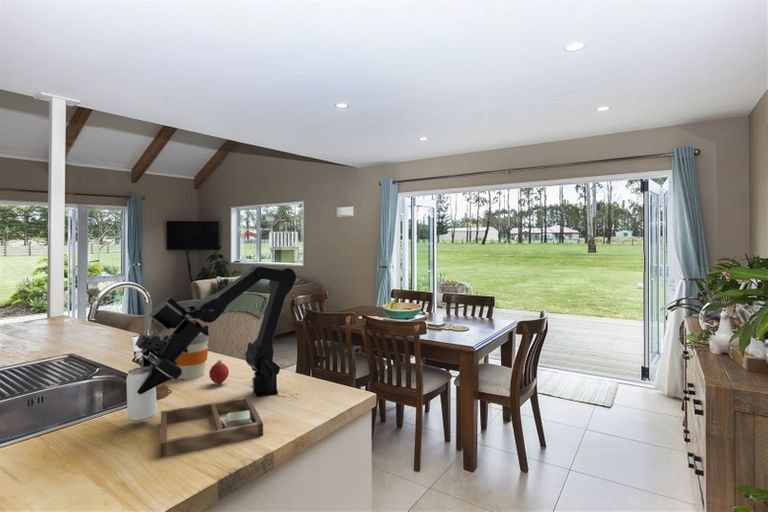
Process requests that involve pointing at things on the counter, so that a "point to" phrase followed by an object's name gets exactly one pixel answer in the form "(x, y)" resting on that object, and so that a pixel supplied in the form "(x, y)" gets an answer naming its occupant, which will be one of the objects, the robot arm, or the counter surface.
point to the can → (140, 396)
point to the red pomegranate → (219, 372)
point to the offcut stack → (236, 419)
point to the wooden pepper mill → (161, 391)
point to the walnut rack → (219, 434)
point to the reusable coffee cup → (194, 358)
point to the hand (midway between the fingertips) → (135, 389)
